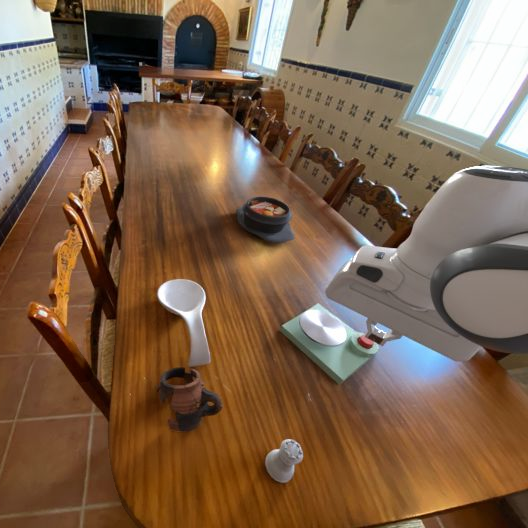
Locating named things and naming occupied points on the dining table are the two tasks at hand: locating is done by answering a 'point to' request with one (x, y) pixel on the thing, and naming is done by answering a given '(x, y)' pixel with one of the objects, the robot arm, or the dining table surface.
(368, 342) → the tare button
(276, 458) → the rook chess piece
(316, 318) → the pan
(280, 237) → the casserole
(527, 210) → the robot arm
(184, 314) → the spoon rest
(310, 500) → the dining table surface
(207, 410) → the pottery mug
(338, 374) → the scale
